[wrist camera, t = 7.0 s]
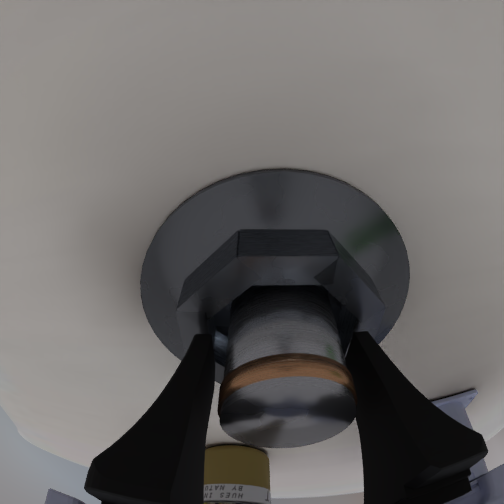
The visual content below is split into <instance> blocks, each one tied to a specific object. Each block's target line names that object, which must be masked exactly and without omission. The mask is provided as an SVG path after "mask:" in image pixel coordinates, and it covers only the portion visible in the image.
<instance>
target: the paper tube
mask: <svg viewBox="0 0 504 504" xmlns="http://www.w3.org/2000/svg"><path fill="white" fill-rule="evenodd" d="M204 504H271V494H270V471H269V458H268V457H267V455H266V454H265V453H264V452H262V451H260V450H258V449H255V448H251V447H246V446H237V445H223V446H215V447H211V448H208V449H205V463H204Z"/></svg>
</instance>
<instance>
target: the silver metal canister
mask: <svg viewBox="0 0 504 504" xmlns="http://www.w3.org/2000/svg"><path fill="white" fill-rule="evenodd" d="M356 406H357V395H356V390H355V386H354V382H353V378H352V375H351V373H350V371H349V370H348V369H347V365H346V361H345V357H344V353H343V349H342V345H341V341H340V337H339V333H338V330H337V326H336V322H335V318H334V315H333V311H332V307H331V304H330V300H329V296H328V293H327V290H326V289H325V288H324V287H323V286H322V285H252V286H250V287H249V288H248V289H247V290H245V291H244V292H243V293H242V294H240V295H239V296H238V297H237V298H235V299H234V300H233V301H231V310H230V320H229V330H228V339H227V349H226V359H225V370H224V380H223V381H222V383H221V386H220V391H219V401H218V415H219V418H220V425H221V427H222V429H223V430H224V431H225V432H226V433H227V434H228V435H229V436H231V437H232V438H234V439H236V440H238V441H241V442H243V443H246V444H250V445H254V446H259V447H267V448H291V447H299V446H305V445H310V444H314V443H317V442H320V441H323V440H326V439H328V438H331V437H333V436H335V435H337V434H338V433H340V432H342V431H343V430H344V429H346V428H347V427H348V426H349V425H350V424H351V423H352V422H353V420H354V418H355V416H356V413H357V409H356Z"/></svg>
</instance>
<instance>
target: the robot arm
mask: <svg viewBox="0 0 504 504" xmlns="http://www.w3.org/2000/svg"><path fill="white" fill-rule="evenodd" d="M345 361H346V365H347V369H348V370H349V371H350V373H351V375H352V378H353V382H354V386H355V390H356V395H357V406H356V409H357V413H356V416H355V417H356V421H357V425H358V429H359V434H360V442H361V450H362V460H363V474H364V504H504V464H502V465H500V466H499V467H497V468H495V469H493V470H491V471H489V472H488V470H487V467H486V464H485V461H484V457H485V456H486V455H487V453H488V449H487V447H486V444H485V441H484V439H483V436H482V435H481V434H479V433H478V432H476V431H474V430H473V428H472V426H471V423H470V421H469V418H468V416H467V413H466V411H465V408H466V407H467V406H468V404H469V403H470V402H471V401H472V400H473V399H474V397H475V396H476V395H477V394H478V391H477V390H476V389H475V390H472V391H468V392H465V393H462V394H458V395H455V396H451V397H448V398H444V399H440V400H436V401H432V402H430V401H429V400H428V399H427V398H426V397H425V396H424V395H423V394H421V393H420V392H419V391H418V390H417V389H416V388H415V387H414V386H413V385H412V384H411V383H410V382H409V381H408V379H407V378H406V377H405V376H404V375H403V374H402V373H401V372H400V371H399V369H398V368H397V367H396V366H395V365H394V363H393V362H392V361H391V360H390V359H389V357H388V356H387V355H386V354H385V352H384V351H383V350H382V349H381V347H380V346H379V345H378V344H377V342H376V341H375V340H374V338H373V337H372V336H371V335H370V333H369V332H368V331H360V332H354V333H353V336H352V339H351V342H350V345H349V349H348V352H347V355H346V357H345ZM215 366H216V365H215V358H214V350H213V342H212V334H196V335H194V337H193V339H192V342H191V344H190V346H189V348H188V350H187V352H186V354H185V356H184V358H183V359H182V361H181V363H180V365H179V366H178V368H177V370H176V371H175V373H174V375H173V376H172V378H171V379H170V381H169V382H168V384H167V385H166V387H165V388H164V390H163V391H162V393H161V394H160V395H159V397H158V398H157V399H156V401H155V402H154V403H153V404H152V406H151V407H150V408H149V409H148V410H147V412H146V413H145V414H144V415H143V416H142V417H141V418H140V419H139V420H138V421H137V422H136V424H135V425H134V426H133V427H132V428H131V429H129V430H128V431H127V432H126V433H125V434H124V435H123V436H122V437H121V438H120V439H118V440H117V441H116V442H115V443H114V444H113V445H111V446H110V447H109V448H107V449H106V450H105V451H103V452H102V453H101V454H99V455H98V456H97V457H95V458H94V459H93V461H92V463H91V466H90V468H89V471H88V474H87V478H86V482H85V486H84V489H85V490H86V492H88V493H89V494H91V495H93V496H94V497H96V498H97V499H99V500H101V501H102V502H101V504H204V463H205V443H206V434H207V428H208V422H209V416H210V410H211V404H212V398H213V393H214V384H215ZM45 504H85V503H84V502H82V501H80V500H78V499H76V498H74V497H71V496H69V495H66V494H63V493H61V492H58V491H56V490H53V489H49V490H48V494H47V498H46V501H45Z"/></svg>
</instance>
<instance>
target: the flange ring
mask: <svg viewBox="0 0 504 504" xmlns="http://www.w3.org/2000/svg"><path fill="white" fill-rule="evenodd" d="M409 279H410V273H409V261H408V255H407V250H406V248H405V245H404V242H403V240H402V237H401V235H400V233H399V232H398V230H397V228H396V227H395V225H394V223H393V222H392V221H391V219H390V218H389V217H388V216H387V215H386V214H385V212H384V211H383V210H382V209H381V208H380V207H379V206H378V205H377V204H376V203H375V202H374V201H373V200H372V199H370V198H369V197H368V196H367V195H365V194H364V193H363V192H361V191H359V190H358V189H356V188H354V187H353V186H351V185H349V184H347V183H345V182H343V181H340V180H338V179H335V178H333V177H330V176H327V175H323V174H319V173H315V172H310V171H304V170H293V169H270V170H259V171H254V172H248V173H243V174H239V175H236V176H233V177H230V178H227V179H224V180H221V181H218V182H216V183H214V184H212V185H210V186H208V187H206V188H205V189H203V190H201V191H199V192H198V193H196V194H195V195H193V196H192V197H190V198H189V199H187V200H186V201H185V202H183V203H182V204H181V205H180V206H179V207H178V208H177V209H176V210H175V211H174V212H173V213H172V214H171V215H170V216H169V217H168V218H167V219H166V221H165V222H164V223H163V225H162V226H161V227H160V229H159V230H158V232H157V234H156V235H155V237H154V239H153V241H152V243H151V245H150V247H149V249H148V251H147V253H146V257H145V260H144V263H143V266H142V273H141V280H140V284H141V298H142V303H143V308H144V311H145V314H146V317H147V319H148V322H149V323H150V325H151V327H152V329H153V331H154V333H155V334H156V335H157V337H158V338H159V339H160V341H161V342H162V343H163V344H164V345H165V346H166V347H167V349H168V350H169V351H170V352H171V353H173V354H174V355H175V356H176V357H177V358H179V359H180V360H181V361H182V359H183V358H184V356H185V354H186V352H187V350H188V348H189V346H190V344H191V342H192V339H193V337H194V335H196V334H212V342H213V350H214V358H215V365H216V366H215V381H216V382H218V383H220V384H221V383H222V381H223V380H224V370H225V359H226V349H227V339H228V330H229V320H230V310H231V301H233V300H234V299H235V298H237V297H238V296H239V295H240V294H242V293H243V292H244V291H245V290H247V289H248V288H249V287H250V286H252V285H322V286H323V287H324V288H325V289H326V290H327V293H328V296H329V300H330V304H331V307H332V311H333V315H334V318H335V322H336V326H337V330H338V333H339V337H340V341H341V345H342V349H343V353H344V357H346V355H347V352H348V349H349V345H350V342H351V339H352V336H353V333H354V332H360V331H368V332H369V333H370V335H371V336H372V337H373V338H374V340H375V341H376V342H377V344H379V343H380V342H381V341H382V340H383V339H384V338H385V337H386V335H387V334H388V333H389V331H390V330H391V329H392V327H393V326H394V324H395V322H396V321H397V319H398V317H399V315H400V313H401V311H402V309H403V306H404V304H405V300H406V297H407V293H408V287H409Z"/></svg>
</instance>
